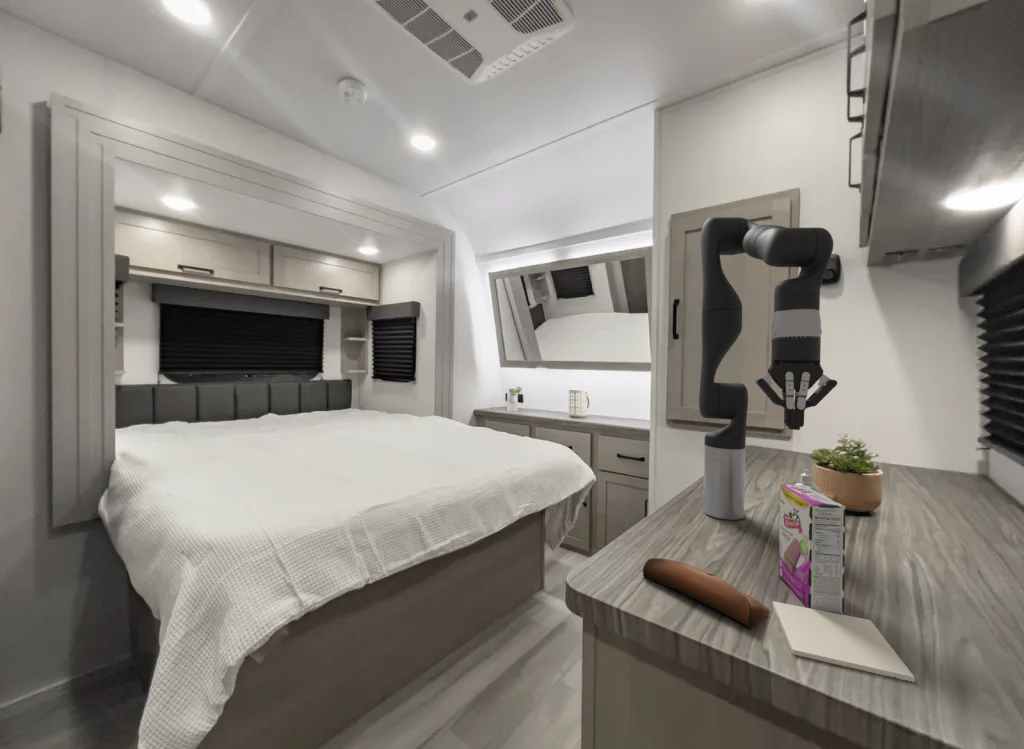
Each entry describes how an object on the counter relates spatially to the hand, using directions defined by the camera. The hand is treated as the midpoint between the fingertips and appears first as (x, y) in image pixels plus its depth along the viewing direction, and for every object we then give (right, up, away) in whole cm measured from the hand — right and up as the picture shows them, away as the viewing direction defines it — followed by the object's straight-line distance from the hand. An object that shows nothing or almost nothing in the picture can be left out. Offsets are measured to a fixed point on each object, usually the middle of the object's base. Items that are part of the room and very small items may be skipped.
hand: (793, 429), depth 77 cm
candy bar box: (-5, -26, -10) cm, 28 cm away
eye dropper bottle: (+21, -26, +26) cm, 42 cm away
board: (-9, -25, -21) cm, 34 cm away
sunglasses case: (-21, -26, -10) cm, 35 cm away
